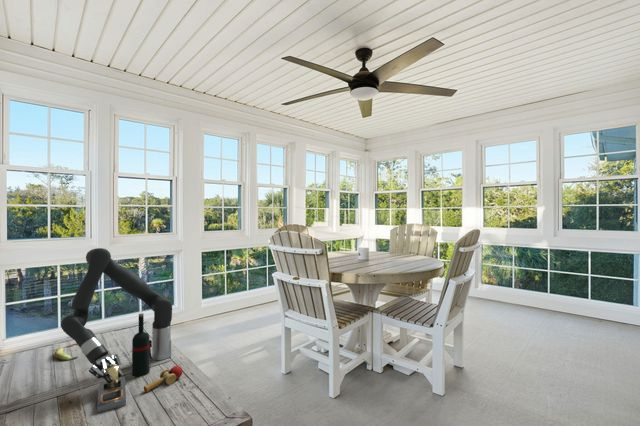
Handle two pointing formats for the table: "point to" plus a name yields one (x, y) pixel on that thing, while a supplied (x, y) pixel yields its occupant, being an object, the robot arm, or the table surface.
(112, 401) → the grey flat frame
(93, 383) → the table surface
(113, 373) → the brass peg
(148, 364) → the wine bottle
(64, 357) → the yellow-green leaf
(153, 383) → the kendama
